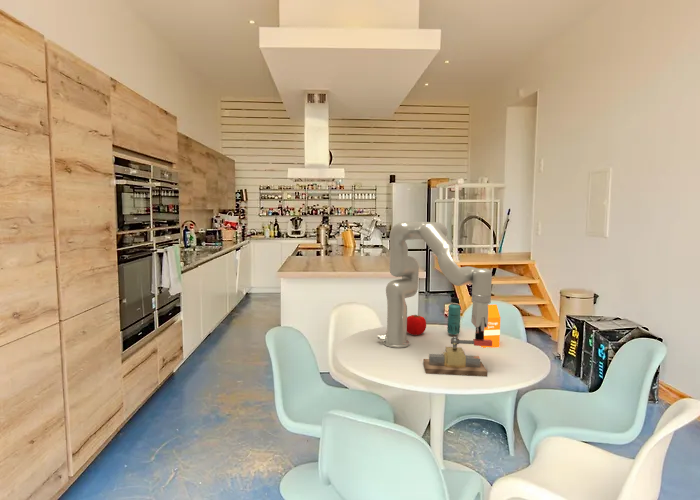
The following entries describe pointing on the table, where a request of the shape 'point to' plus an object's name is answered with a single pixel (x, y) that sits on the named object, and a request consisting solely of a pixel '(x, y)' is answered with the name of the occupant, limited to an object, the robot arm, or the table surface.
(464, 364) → the valve
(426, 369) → the board
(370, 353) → the table surface
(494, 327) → the orange juice
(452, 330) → the beverage bottle
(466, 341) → the lever
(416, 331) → the tomato
